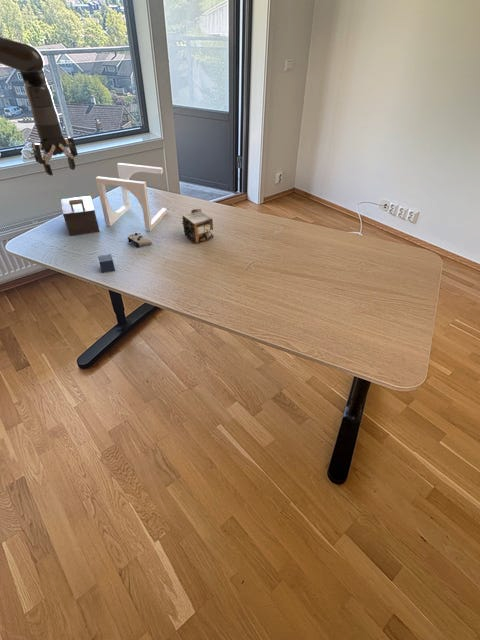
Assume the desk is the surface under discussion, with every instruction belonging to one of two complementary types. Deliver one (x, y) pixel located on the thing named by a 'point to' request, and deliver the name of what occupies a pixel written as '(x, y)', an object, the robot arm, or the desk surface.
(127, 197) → the white arched cube frame
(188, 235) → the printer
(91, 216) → the storage box
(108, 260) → the block
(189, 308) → the desk surface
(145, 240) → the game controller
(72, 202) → the lid
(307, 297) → the desk surface
